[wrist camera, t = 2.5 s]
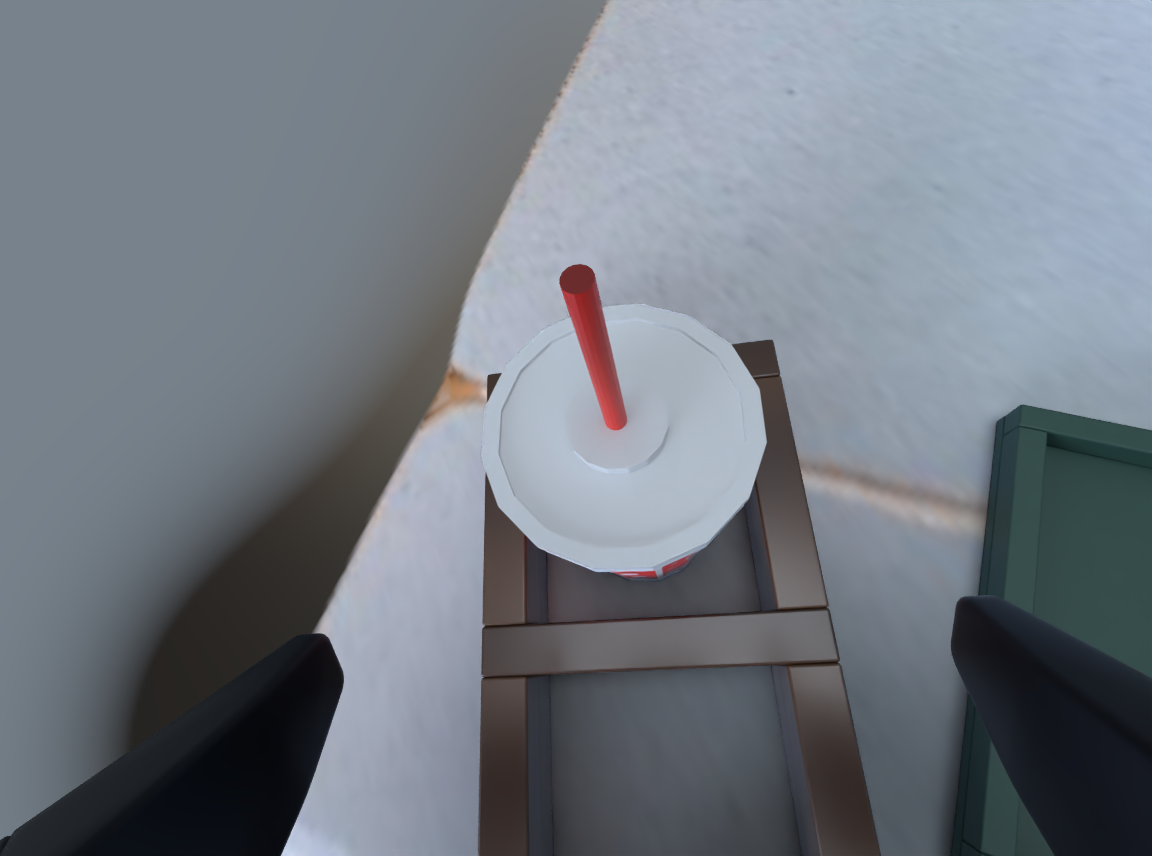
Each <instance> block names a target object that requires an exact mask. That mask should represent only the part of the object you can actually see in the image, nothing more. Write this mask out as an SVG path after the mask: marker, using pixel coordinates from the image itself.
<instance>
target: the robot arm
mask: <svg viewBox="0 0 1152 856" xmlns="http://www.w3.org/2000/svg"><path fill="white" fill-rule="evenodd" d="M951 652H952V656H953V660H954V662H955V665H956V667H957V669H958V671H959V673H960V675H961V678H962V680H963V682H964V684H965V686H966V688H967V690H968V692H969V695H970V697H971V699H972V701H973V703H974V705H975V707H976V709H977V711H978V714H979V716H980V718H981V720H982V722H983V724H984V726H985V728H986V731H987V733H988V735H989V737H990V739H991V741H992V743H993V745H994V748H995V750H996V752H997V754H998V756H999V758H1000V760H1001V762H1002V764H1003V766H1004V768H1005V770H1006V772H1007V774H1008V776H1009V778H1010V780H1011V782H1012V784H1013V786H1014V788H1015V790H1016V791H1017V793H1018V795H1019V797H1020V798H1021V800H1022V802H1023V804H1024V805H1025V807H1026V809H1027V811H1028V812H1029V814H1030V816H1031V817H1032V819H1033V821H1034V822H1035V824H1036V826H1037V827H1038V829H1039V831H1040V832H1041V834H1042V836H1043V837H1044V839H1045V841H1046V843H1047V844H1048V846H1049V848H1050V849H1051V851H1052V853H1053V854H1054V856H1152V678H1151V677H1149V676H1147V675H1145V674H1143V673H1142V672H1140V671H1138V670H1136V669H1134V668H1132V667H1130V666H1128V665H1127V664H1125V663H1123V662H1121V661H1119V660H1117V659H1115V658H1113V657H1111V656H1110V655H1108V654H1106V653H1104V652H1102V651H1100V650H1098V649H1096V648H1095V647H1093V646H1091V645H1089V644H1087V643H1085V642H1083V641H1081V640H1080V639H1078V638H1076V637H1074V636H1072V635H1070V634H1068V633H1066V632H1064V631H1063V630H1061V629H1059V628H1057V627H1055V626H1053V625H1051V624H1049V623H1048V622H1046V621H1044V620H1042V619H1040V618H1038V617H1036V616H1034V615H1032V614H1031V613H1029V612H1027V611H1025V610H1023V609H1021V608H1019V607H1017V606H1016V605H1014V604H1012V603H1010V602H1008V601H1006V600H1004V599H1002V598H1000V597H998V596H994V595H982V596H965V597H962V598H960V599H959V601H958V602H957V605H956V610H955V617H954V624H953V631H952V638H951ZM343 684H344V675H343V670H342V668H341V665H340V663H339V661H338V658H337V656H336V654H335V651H334V649H333V647H332V644H331V642H330V640H329V638H328V637H327V636H326V635H324V634H321V633H318V634H302V635H298V636H296V637H294V638H292V639H291V640H290V641H288V642H287V643H285V644H284V645H282V646H281V647H279V648H278V649H276V650H275V651H274V652H272V653H271V654H269V655H268V656H267V657H265V658H263V659H262V660H261V661H259V662H258V663H256V664H255V665H253V666H252V667H251V668H249V669H248V670H246V671H245V672H243V673H242V674H240V675H239V676H238V677H236V678H235V679H233V680H232V681H230V682H229V683H227V684H226V685H224V686H223V687H222V688H220V689H219V690H217V691H216V692H214V693H213V694H211V695H210V696H209V697H207V698H206V699H204V700H203V701H201V702H200V703H198V704H197V705H195V706H194V707H193V708H191V709H190V710H189V711H187V712H185V713H184V714H182V715H181V716H180V717H178V718H177V719H175V720H174V721H172V722H171V723H169V724H168V725H167V726H165V727H164V728H162V729H161V730H159V731H158V732H156V733H155V734H154V735H152V736H151V737H150V738H148V739H146V740H145V741H143V742H142V743H141V744H139V745H138V746H136V747H135V748H133V749H132V750H130V751H129V752H128V753H126V754H125V755H124V756H122V757H120V758H119V759H118V760H116V761H114V762H113V763H112V764H110V765H109V766H107V767H106V768H104V769H103V770H102V771H100V772H99V773H97V774H96V775H94V776H93V777H91V778H90V779H88V780H87V781H86V782H84V783H83V784H81V785H80V786H78V787H77V788H76V789H74V790H73V791H71V792H70V793H68V794H67V795H65V796H64V797H62V798H61V799H60V800H58V801H57V802H55V803H54V804H52V805H51V806H50V807H48V808H47V809H45V810H44V811H42V812H41V813H39V814H38V815H36V816H35V817H33V818H32V819H31V820H29V821H28V822H26V823H25V824H23V825H22V826H20V827H19V828H18V829H16V830H15V831H14V833H13V834H12V835H11V836H7V837H4V838H3V839H1V840H0V856H281V854H282V852H283V850H284V847H285V845H286V843H287V840H288V838H289V836H290V833H291V831H292V829H293V826H294V824H295V822H296V820H297V817H298V815H299V813H300V810H301V808H302V805H303V803H304V800H305V798H306V796H307V793H308V790H309V788H310V785H311V782H312V779H313V777H314V774H315V771H316V768H317V765H318V762H319V759H320V756H321V753H322V750H323V747H324V744H325V741H326V738H327V735H328V732H329V729H330V726H331V723H332V720H333V717H334V714H335V711H336V708H337V705H338V702H339V699H340V695H341V692H342V689H343Z"/></svg>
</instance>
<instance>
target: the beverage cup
mask: <svg viewBox="0 0 1152 856" xmlns="http://www.w3.org/2000/svg"><path fill="white" fill-rule="evenodd" d="M560 287H561V290H562V293H563V296H564V299H565V302H566V305H567V308H568V311H569V314H570V317H568V318H566V319H564V320H562V321H560V322H557V323H555V324H553V325H551V326H549V327H546V328H544V329H542V330H541V331H540V332H539V333H538V334H537V335H536V336H535V337H534V338H533V339H532V340H531V341H530V342H529V343H528V344H527V345H526V346H524V347H523V348H522V349H521V350H520V351H519V352H518V353H517V354H516V355H515V356H514V357H513V358H512V359H511V360H510V361H509V362H508V363H507V364H506V366H505V368H504V370H503V372H502V374H501V376H500V378H499V380H498V382H497V384H496V386H495V388H494V390H493V392H492V394H491V396H490V398H489V400H488V402H487V404H486V406H485V410H484V424H483V438H482V452H481V459H482V462H483V465H484V468H485V471H486V473H487V476H488V479H489V482H490V485H491V488H492V490H493V493H494V496H495V499H496V502H497V504H498V507H499V508H500V509H501V510H502V511H503V512H504V513H505V514H506V515H507V516H508V517H509V518H510V519H511V520H512V521H513V523H514V524H515V525H516V526H517V527H518V528H519V529H520V530H521V531H522V532H523V533H524V534H525V535H526V536H527V537H528V538H529V539H530V540H531V541H532V542H533V543H534V544H535V545H536V546H537V547H538V548H539V549H542V550H544V551H546V552H549V553H551V554H553V555H556V556H558V557H561V558H563V559H566V560H568V561H571V562H573V563H576V564H578V565H580V566H583V567H585V568H588V569H590V570H593V571H595V572H611V573H614V574H616V575H619V576H621V577H623V578H626V579H628V580H631V581H659V580H662V579H664V578H666V577H668V576H670V575H673V574H675V573H677V572H679V571H682V570H683V569H684V568H685V567H686V566H687V564H688V563H689V562H690V561H691V560H692V559H693V558H694V557H695V556H696V555H697V553H698V552H699V551H700V550H701V549H703V548H706V547H707V546H708V545H709V544H710V542H711V541H712V540H713V539H714V538H715V537H716V536H717V535H718V534H719V533H720V531H721V530H722V529H723V528H724V527H725V526H726V525H727V524H728V523H729V522H730V520H731V519H732V518H733V517H734V516H735V515H736V514H737V513H738V512H739V510H740V509H741V508H742V507H743V506H744V504H745V503H746V502H747V501H748V499H749V497H750V494H751V491H752V487H753V484H754V481H755V478H756V475H757V472H758V469H759V465H760V462H761V459H762V456H763V453H764V450H765V446H766V443H767V440H766V432H765V425H764V418H763V410H762V403H761V395H760V389H759V387H758V385H757V384H756V382H755V381H754V379H753V378H752V376H751V374H750V373H749V371H748V370H747V368H746V367H745V365H744V363H743V362H742V360H741V359H740V357H739V356H738V354H737V352H736V351H735V349H734V348H733V346H732V345H731V344H730V343H728V342H727V341H726V340H724V339H723V338H721V337H720V336H718V335H717V334H715V333H714V332H713V331H711V330H710V329H708V328H707V327H705V326H704V325H702V324H701V323H700V322H698V321H697V320H695V319H694V318H692V317H691V316H689V315H685V314H681V313H677V312H673V311H669V310H665V309H661V308H657V307H653V306H649V305H645V304H641V303H637V304H627V305H617V306H607V307H602V305H601V300H600V296H599V291H598V287H597V283H596V278H595V274H594V272H593V270H592V269H591V268H590V267H588V266H586V265H582V264H578V265H572V266H570V267H568V268H567V269H566V270H564V271H563V272H562V274H561V276H560Z"/></svg>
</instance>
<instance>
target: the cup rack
mask: <svg viewBox="0 0 1152 856" xmlns="http://www.w3.org/2000/svg"><path fill="white" fill-rule="evenodd" d="M731 345H732V346H733V348H734V349H735V351H736V352H737V354H738V356H739V357H740V359H741V360H742V362H743V363H744V365H745V367H746V368H747V370H748V371H749V373H750V374H751V376H752V378H753V379H754V381H755V382H756V384H757V385H758V387H759V389H760V395H761V403H762V410H763V418H764V425H765V432H766V440H767V443H766V446H765V450H764V453H763V456H762V459H761V462H760V465H759V469H758V472H757V475H756V478H755V481H754V484H753V487H752V491H751V494H750V497H749V499H748V501H747V502H746V503H745V504H744V505H745V511H746V517H747V523H748V529H749V535H750V541H751V547H752V553H753V559H754V565H755V572H756V578H757V584H758V590H759V596H760V602H761V608H762V611H755V612H738V613H720V614H702V615H684V616H666V617H648V618H630V619H613V620H595V621H577V622H559V623H548V608H547V564H546V551H544V550H542V549H539V548H538V547H537V546H536V545H535V544H534V543H533V542H532V541H531V540H530V539H529V538H528V537H527V536H526V535H525V534H524V533H523V532H522V531H521V530H520V529H519V528H518V527H517V526H516V525H515V524H514V523H513V521H512V520H511V519H510V518H509V517H508V516H507V515H506V514H505V513H504V512H503V511H502V510H501V509H500V508H499V507H498V504H497V502H496V499H495V496H494V493H493V490H492V488H491V485H490V482H489V479H488V476H487V473H486V477H485V526H484V576H483V626H485V627H484V628H483V629H482V671H481V674H482V677H484V678H482V681H481V726H480V776H479V826H478V856H553V828H552V784H551V740H550V696H549V675H552V674H576V673H599V672H623V671H647V670H671V669H694V668H718V667H742V666H765V665H771V669H772V675H773V681H774V687H775V693H776V699H777V705H778V711H779V717H780V723H781V729H782V735H783V742H784V748H785V754H786V760H787V766H788V772H789V778H790V784H791V790H792V796H793V802H794V808H795V815H796V821H797V827H798V833H799V839H800V845H801V851H802V856H881V853H880V848H879V843H878V839H877V834H876V829H875V824H874V820H873V815H872V810H871V805H870V800H869V796H868V791H867V786H866V781H865V777H864V772H863V767H862V762H861V757H860V753H859V748H858V743H857V738H856V733H855V729H854V724H853V719H852V714H851V710H850V705H849V700H848V695H847V690H846V686H845V681H844V676H843V671H842V667H841V665H840V663H837V662H839V661H840V657H839V652H838V647H837V643H836V638H835V633H834V628H833V623H832V619H831V614H830V610H829V609H828V608H826V607H828V605H829V604H828V599H827V594H826V589H825V585H824V580H823V575H822V570H821V565H820V561H819V556H818V551H817V546H816V542H815V537H814V532H813V527H812V522H811V518H810V513H809V508H808V503H807V499H806V494H805V489H804V484H803V479H802V475H801V470H800V465H799V460H798V456H797V451H796V446H795V441H794V436H793V432H792V427H791V422H790V417H789V413H788V408H787V403H786V398H785V393H784V389H783V384H782V379H781V377H780V370H779V366H778V361H777V356H776V351H775V347H774V342H773V340H763V341H755V342H747V343H739V344H731ZM501 374H502V373H499V374H491V375H488V378H487V402H488V400H489V398H490V396H491V394H492V392H493V390H494V388H495V386H496V384H497V382H498V380H499V378H500V376H501Z"/></svg>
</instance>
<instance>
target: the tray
mask: <svg viewBox="0 0 1152 856" xmlns="http://www.w3.org/2000/svg"><path fill="white" fill-rule="evenodd" d="M982 595H994V596H998V597H1000V598H1002V599H1004V600H1006V601H1008V602H1010V603H1012V604H1014V605H1016V606H1017V607H1019V608H1021V609H1023V610H1025V611H1027V612H1029V613H1031V614H1032V615H1034V616H1036V617H1038V618H1040V619H1042V620H1044V621H1046V622H1048V623H1049V624H1051V625H1053V626H1055V627H1057V628H1059V629H1061V630H1063V631H1064V632H1066V633H1068V634H1070V635H1072V636H1074V637H1076V638H1078V639H1080V640H1081V641H1083V642H1085V643H1087V644H1089V645H1091V646H1093V647H1095V648H1096V649H1098V650H1100V651H1102V652H1104V653H1106V654H1108V655H1110V656H1111V657H1113V658H1115V659H1117V660H1119V661H1121V662H1123V663H1125V664H1127V665H1128V666H1130V667H1132V668H1134V669H1136V670H1138V671H1140V672H1142V673H1143V674H1145V675H1147V676H1149V677H1151V678H1152V431H1151V430H1146V429H1141V428H1136V427H1131V426H1126V425H1121V424H1116V423H1111V422H1106V421H1101V420H1096V419H1092V418H1087V417H1082V416H1077V415H1072V414H1067V413H1062V412H1057V411H1052V410H1047V409H1042V408H1037V407H1032V406H1027V405H1020V406H1019V407H1017V408H1016V409H1014V410H1013V411H1012V412H1010V413H1009V414H1008V415H1006V416H1004V417H1003V418H1001V419H1000V420H999V421H998V422H997V430H996V440H995V449H994V459H993V468H992V478H991V487H990V496H989V506H988V515H987V525H986V534H985V544H984V553H983V563H982V572H981V581H980V591H979V596H982ZM952 856H1054V854H1053V853H1052V851H1051V849H1050V848H1049V846H1048V844H1047V843H1046V841H1045V839H1044V837H1043V836H1042V834H1041V832H1040V831H1039V829H1038V827H1037V826H1036V824H1035V822H1034V821H1033V819H1032V817H1031V816H1030V814H1029V812H1028V811H1027V809H1026V807H1025V805H1024V804H1023V802H1022V800H1021V798H1020V797H1019V795H1018V793H1017V791H1016V790H1015V788H1014V786H1013V784H1012V782H1011V780H1010V778H1009V776H1008V774H1007V772H1006V770H1005V768H1004V766H1003V764H1002V762H1001V760H1000V758H999V756H998V754H997V752H996V750H995V748H994V745H993V743H992V741H991V739H990V737H989V735H988V733H987V731H986V728H985V726H984V724H983V722H982V720H981V718H980V716H979V714H978V711H977V709H976V707H975V705H974V703H973V701H972V699H971V697H970V695H968V704H967V714H966V723H965V733H964V742H963V752H962V761H961V771H960V780H959V789H958V799H957V808H956V818H955V827H954V837H953V846H952Z"/></svg>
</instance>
